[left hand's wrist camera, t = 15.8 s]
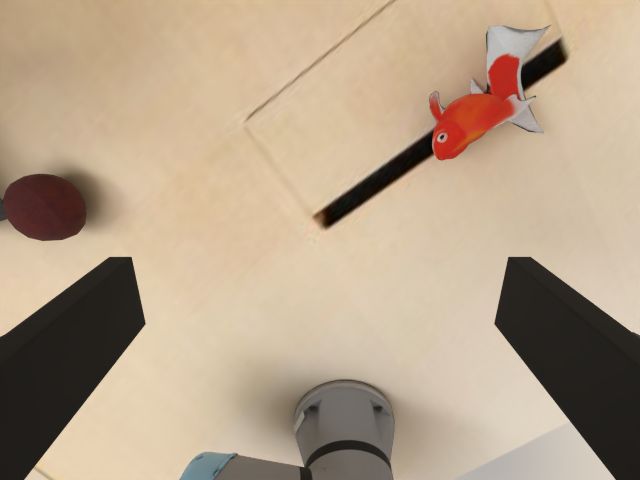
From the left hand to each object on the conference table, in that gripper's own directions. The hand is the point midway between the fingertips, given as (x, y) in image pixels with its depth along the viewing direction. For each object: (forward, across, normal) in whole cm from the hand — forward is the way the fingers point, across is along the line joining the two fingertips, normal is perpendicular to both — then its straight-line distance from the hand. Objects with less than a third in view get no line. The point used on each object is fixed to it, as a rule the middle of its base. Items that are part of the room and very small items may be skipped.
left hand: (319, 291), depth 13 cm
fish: (+31, -17, -7) cm, 36 cm away
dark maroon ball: (+31, +30, +5) cm, 43 cm away
